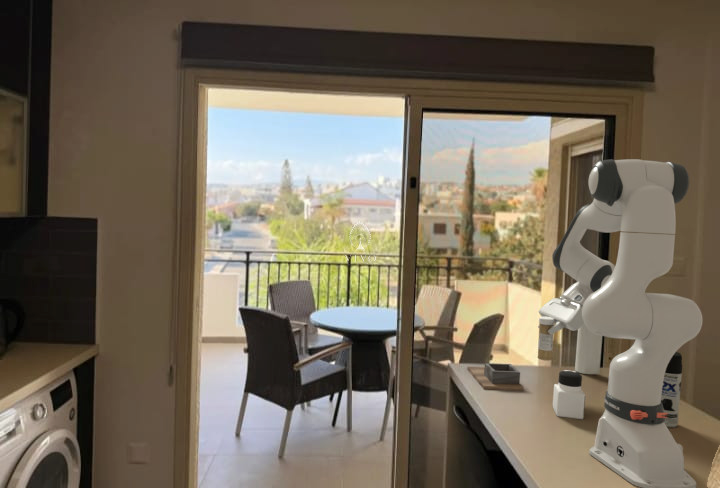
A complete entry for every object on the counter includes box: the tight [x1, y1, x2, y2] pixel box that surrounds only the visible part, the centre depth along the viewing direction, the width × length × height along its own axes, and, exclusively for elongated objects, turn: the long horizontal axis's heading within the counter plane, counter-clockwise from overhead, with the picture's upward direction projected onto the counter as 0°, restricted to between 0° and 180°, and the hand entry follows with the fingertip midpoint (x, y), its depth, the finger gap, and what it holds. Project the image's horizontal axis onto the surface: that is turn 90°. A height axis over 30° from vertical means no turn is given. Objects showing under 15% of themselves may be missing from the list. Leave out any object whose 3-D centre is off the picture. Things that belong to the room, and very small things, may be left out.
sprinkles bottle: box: [537, 316, 555, 362], centre depth 161 cm, size 5×5×14 cm
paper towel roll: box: [574, 324, 603, 375], centre depth 183 cm, size 7×6×21 cm
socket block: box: [466, 362, 525, 391], centre depth 171 cm, size 20×13×5 cm, turn 3°
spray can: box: [661, 351, 683, 429], centre depth 140 cm, size 7×7×20 cm
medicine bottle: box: [552, 369, 586, 420], centre depth 143 cm, size 7×7×12 cm
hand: (544, 331), depth 160 cm, fingers closed on sprinkles bottle, 4 cm apart
